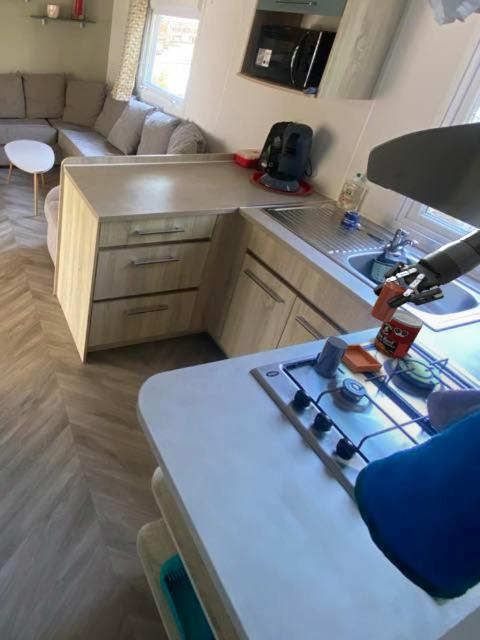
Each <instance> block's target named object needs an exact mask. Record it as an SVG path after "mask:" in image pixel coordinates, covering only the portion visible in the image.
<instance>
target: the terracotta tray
mask: <svg viewBox="0 0 480 640" xmlns="http://www.w3.org/2000/svg"><path fill="white" fill-rule="evenodd" d="M341 362H343V363H344V364H345V365H346V366H347V367H348V368H349V369H350V370H351V371H352V372H353V373H371V372H373V373H374V372H380V371H381V369H382V368H383V364H382V363H381V362H380V361H379V360H378V359H376V358H375V357H374V356H373V355H372V354H371V353H370V352H369V351H367V350H366V349H365V348H364V347H363V346H362V345H361V344H360V343H358V344H357V343H356V344H355V343H354V344H352V343H351V344H348V349H347V351H346V353H345V355H344V357H343V359H342V361H341Z"/></svg>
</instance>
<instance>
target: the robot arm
mask: <svg viewBox="0 0 480 640" xmlns="http://www.w3.org/2000/svg"><path fill="white" fill-rule="evenodd" d="M479 266H480V229H476V228H475V229H472V230H471V231H470V232H468V233H466V234H464V235H463V236H461V237H459V238H457V239H456V240H454V241H451V242H448V243H446V244H444V245H443V246H440V247H439V248H437V249H435V250H434V251H432V252H430V253H428V254H427V255H424V256H422V257H421V258H420V259H419V260H418V261H417V263H415V264H410V265H409V264H408V265H407V264H406V263H404V262H403V261H402V260H399V261H397V262H396V263H395V264H394V265H392V267H390V268H389V269H388V270H387V271H386V272H385V273H384V274H383V277H384V279H385V281H383V282H382V283H380V284H378V285H377V286H375V287H374V288H373V290H372V291H373V293H374V295H375V296H376V297H378V296H379V294H380V292H381V290H382V288H383V286H384V284H385V282H393V283H396V284H399V285H401V286H403V287H407V286H408V288H407V289H406V290H407V291H406V292H405V293H404V294H403V295H402V294H400V295H398V296H397V297H395V298H393V299H391V300H389V301H388V302H387V304H388V306H389V307H390V308H391V309H393V308H397V309H399V308H400V307H401V306H404V305H405V304H409V303H411V304H414V305H415V306H416V307H418V306H423V305H425V304H426V305H427V304H428V303H432V302H435V301H438V300H441V299H444V298H445V294H444V292H443V290H442V289H441V286H445V285H447V284H449V283H452V282H453V281H455V280H457V279H458V278H460V277H462V276H464V275H466V274H468V273H470V272H472V271H473V270H475V269H476V268H477V267H479ZM402 279H403V280H402Z"/></svg>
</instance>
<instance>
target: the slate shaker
mask: <svg viewBox="0 0 480 640" xmlns="http://www.w3.org/2000/svg"><path fill="white" fill-rule="evenodd" d="M348 345H349V344H348V343H347V342H346V341H345V340H343V339H342V338H340V337H338V336H335V335H330V336H328V337H327V338H326V341H325V342H324V345H323V347H322V349H321V352H320V354H319V355H318V357H317V360H316V362H315V365H314V369H315V370H316V372H317V373H318V374H320V375H321V376H323V377H326V378H334V377H335V376H336V373H337V371H338V369H339V367H340V365H341V363H342V362H343V361H342V359H343V357H344V355H345V353H346V351H347V349H348Z"/></svg>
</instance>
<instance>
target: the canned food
mask: <svg viewBox="0 0 480 640" xmlns="http://www.w3.org/2000/svg"><path fill="white" fill-rule="evenodd" d="M423 326H424V322H423V321H422V319H421V318H419V317H418V316H417V315H415V314H412V313H411V312H408V311H406V310H403V309H399V308H397V310H396V312H395V314H394V316H393V318H392V320H391V321H390V322H383V321H382V324H381V326H380V328H379V330H378V332H377V334H376V336H375V338H374V341H373V343H374V344H373V345H374V346H375V347H376V349H378V350H379V351H380V352H381V353H383V354H385V355H387V356H389V357H391V358H396V359H397V358H398V359H400V358H399V357H402V358H405V356H407V355H408V353H409V352H410V349H411V347H412V346H413V344H414V342H415V341H416V339H417V337H418V335H419V334H420V332H421V331H422V328H423Z"/></svg>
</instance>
